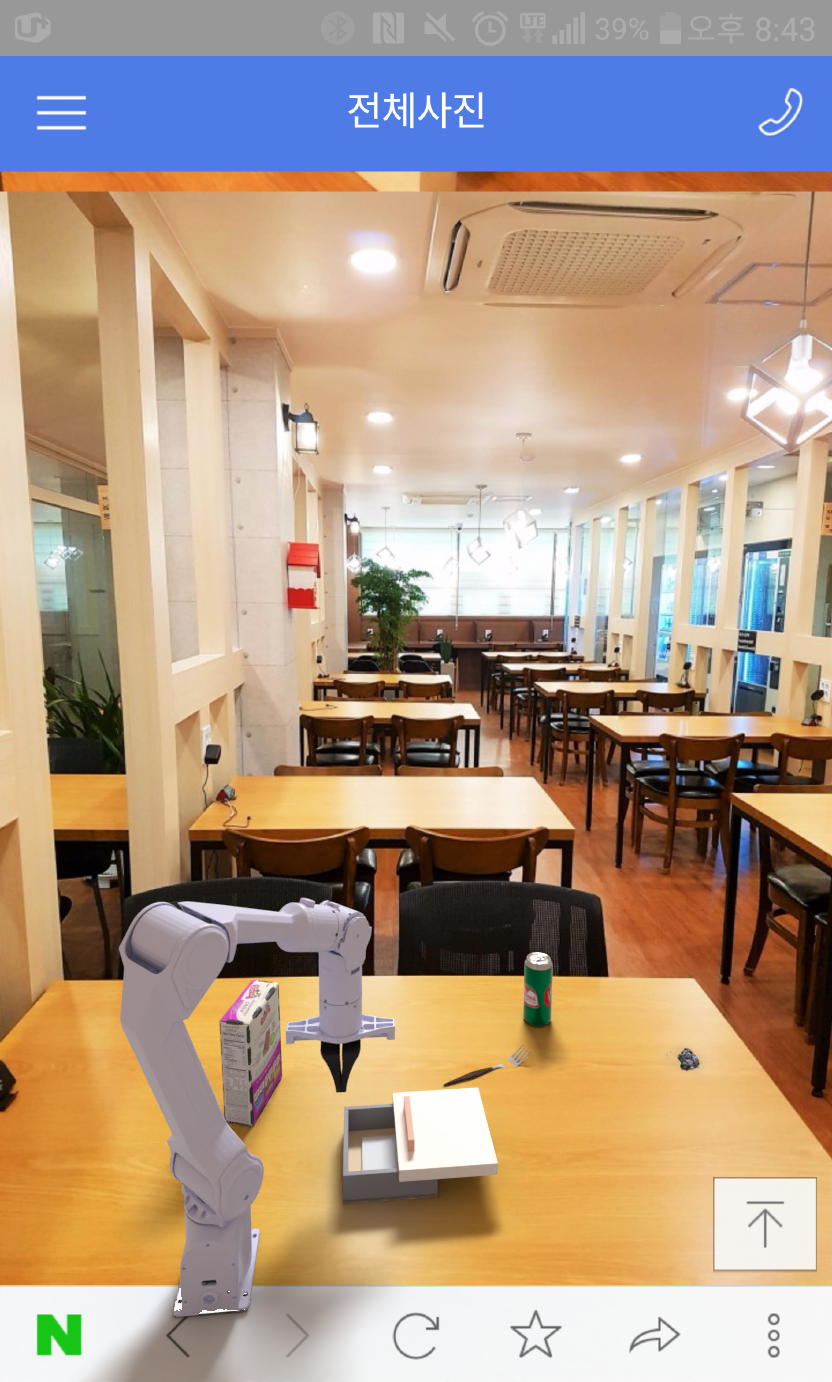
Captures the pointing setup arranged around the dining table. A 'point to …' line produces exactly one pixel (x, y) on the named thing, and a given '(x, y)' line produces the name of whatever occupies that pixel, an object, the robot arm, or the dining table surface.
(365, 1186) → the mailer tray
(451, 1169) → the lid
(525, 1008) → the soda can
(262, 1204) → the dining table surface
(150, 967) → the robot arm
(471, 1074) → the fork
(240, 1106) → the candy bar box
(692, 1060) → the blueberries
